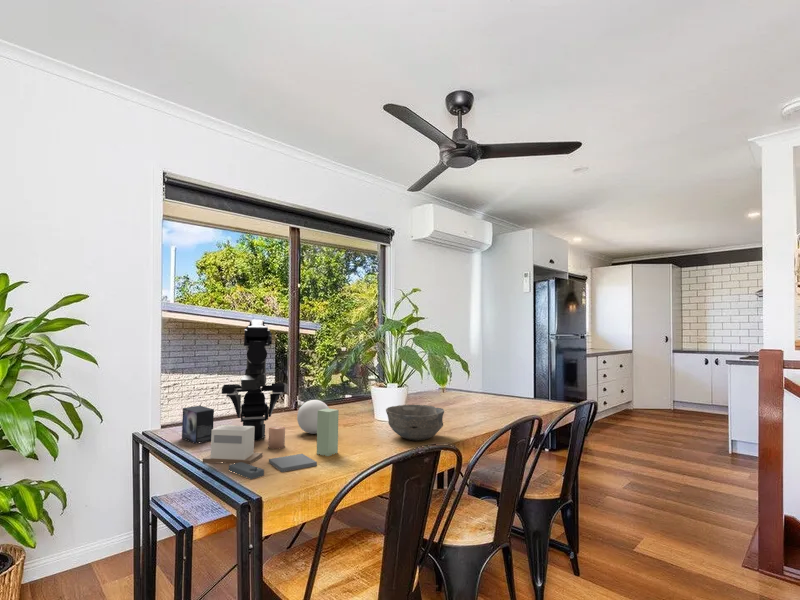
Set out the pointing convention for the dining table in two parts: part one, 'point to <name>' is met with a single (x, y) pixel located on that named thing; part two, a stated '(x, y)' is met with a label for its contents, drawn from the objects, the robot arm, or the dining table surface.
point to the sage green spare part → (327, 432)
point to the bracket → (246, 470)
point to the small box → (197, 423)
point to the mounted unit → (232, 445)
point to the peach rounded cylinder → (276, 437)
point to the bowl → (415, 421)
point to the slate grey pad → (292, 462)
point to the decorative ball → (310, 415)
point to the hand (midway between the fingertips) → (254, 417)
